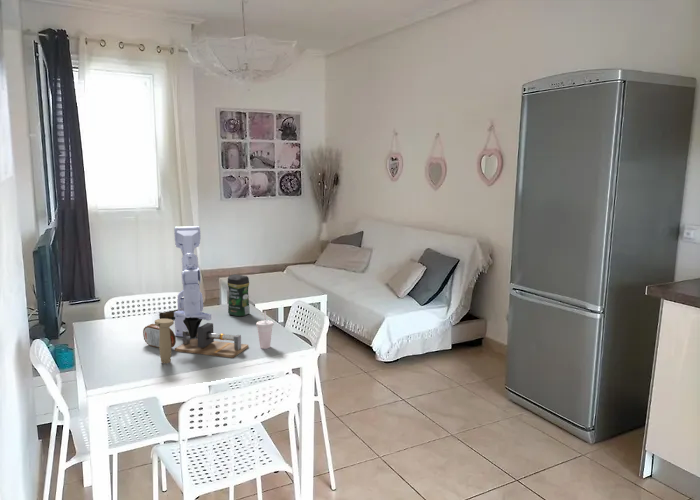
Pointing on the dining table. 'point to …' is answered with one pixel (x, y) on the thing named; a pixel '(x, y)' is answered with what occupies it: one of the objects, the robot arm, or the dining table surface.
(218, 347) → the base board
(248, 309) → the coffee jar
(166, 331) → the handle
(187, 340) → the silver metal rod
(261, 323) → the smoothie
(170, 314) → the hand tool
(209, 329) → the collar
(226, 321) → the dining table surface
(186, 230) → the robot arm
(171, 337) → the tin
